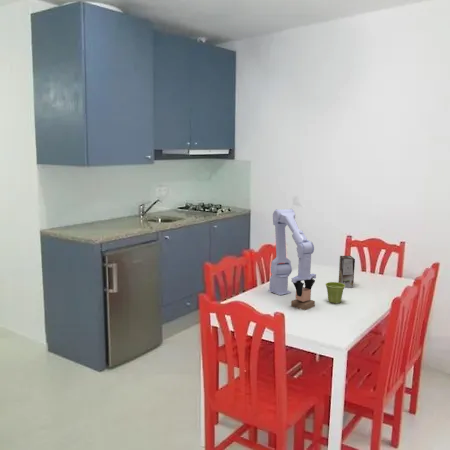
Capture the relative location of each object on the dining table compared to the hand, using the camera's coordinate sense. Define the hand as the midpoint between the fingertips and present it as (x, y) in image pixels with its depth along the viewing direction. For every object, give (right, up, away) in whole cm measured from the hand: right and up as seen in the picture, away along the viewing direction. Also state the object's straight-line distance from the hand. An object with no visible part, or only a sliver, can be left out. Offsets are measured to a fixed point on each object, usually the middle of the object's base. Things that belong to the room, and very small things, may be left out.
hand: (303, 294), depth 219 cm
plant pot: (+17, -5, +8) cm, 19 cm away
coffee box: (+30, -1, +36) cm, 47 cm away
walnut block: (0, -6, +1) cm, 6 cm away
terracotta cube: (0, -2, 0) cm, 2 cm away
